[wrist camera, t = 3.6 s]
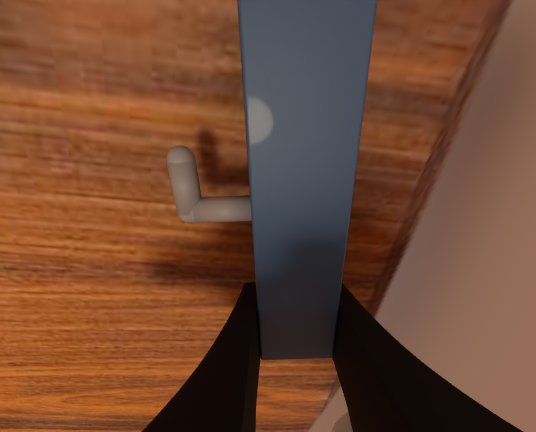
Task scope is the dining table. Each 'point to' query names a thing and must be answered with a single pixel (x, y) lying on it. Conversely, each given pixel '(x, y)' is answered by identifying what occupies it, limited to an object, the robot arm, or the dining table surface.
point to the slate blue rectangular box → (294, 162)
